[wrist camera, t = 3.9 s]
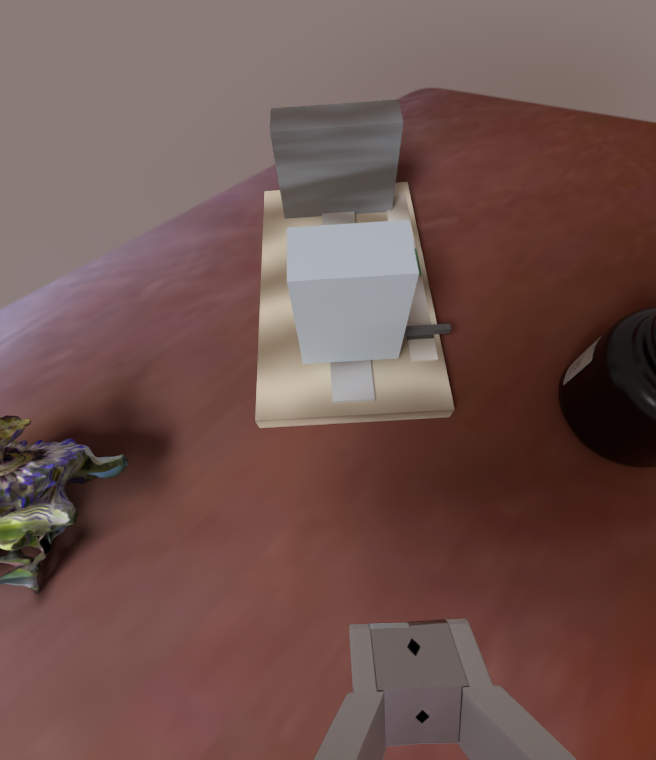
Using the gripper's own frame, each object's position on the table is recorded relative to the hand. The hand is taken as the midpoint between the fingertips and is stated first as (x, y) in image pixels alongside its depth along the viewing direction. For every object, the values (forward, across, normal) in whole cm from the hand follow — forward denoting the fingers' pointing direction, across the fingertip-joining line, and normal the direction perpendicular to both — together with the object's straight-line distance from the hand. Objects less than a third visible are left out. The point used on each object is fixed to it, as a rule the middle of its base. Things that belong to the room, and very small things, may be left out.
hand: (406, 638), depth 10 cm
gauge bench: (+27, 0, -6) cm, 28 cm away
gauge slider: (+22, -2, -4) cm, 23 cm away
